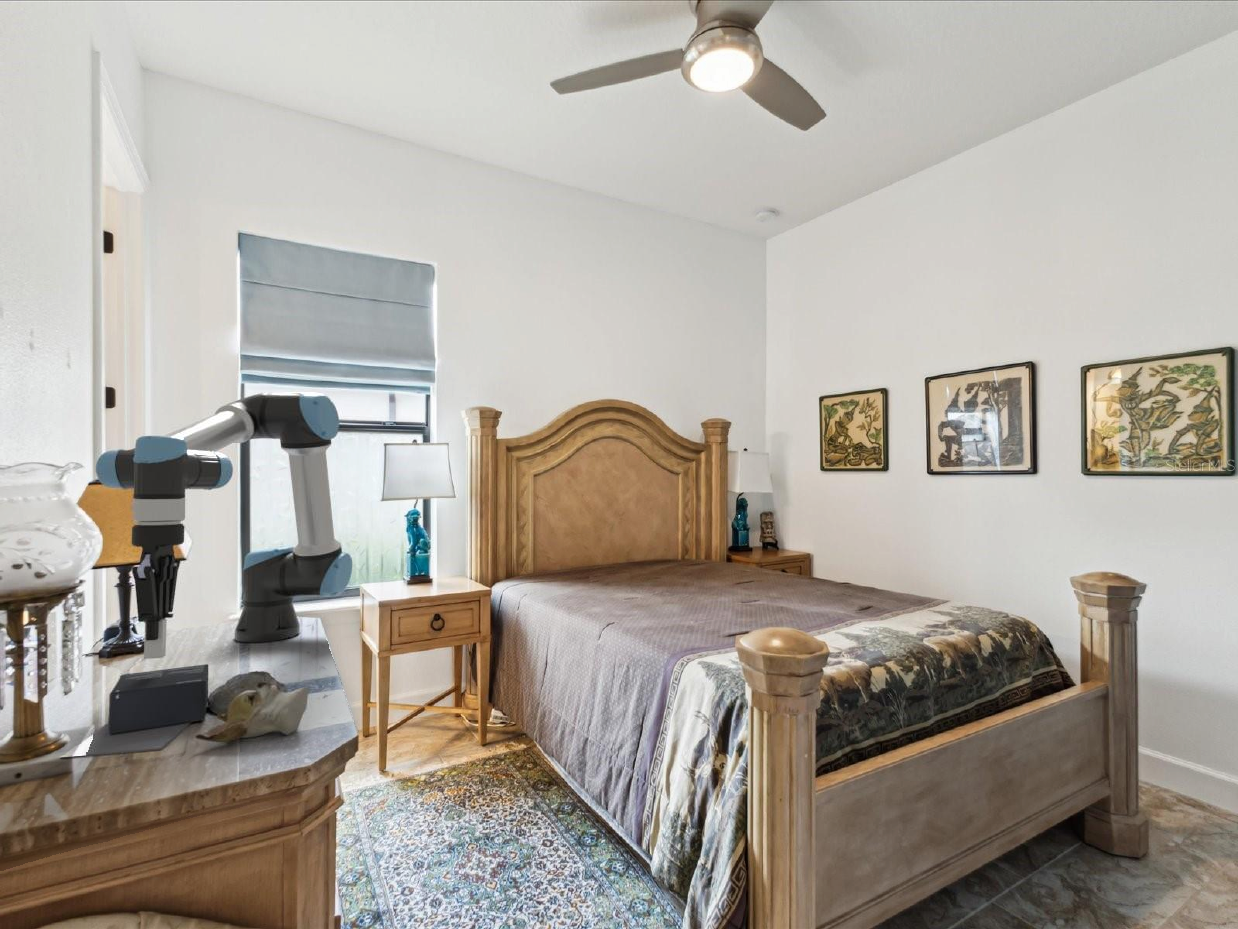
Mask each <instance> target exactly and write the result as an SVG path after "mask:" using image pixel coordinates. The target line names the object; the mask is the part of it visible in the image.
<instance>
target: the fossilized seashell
mask: <svg viewBox="0 0 1238 929" xmlns="http://www.w3.org/2000/svg"><path fill="white" fill-rule="evenodd" d="M260 682H264V683H270V684H272V685H275V686H276V687H277V689H278V690H279V691H280V692H285V693H287V686H286V685H285V683H282V682H279V681H278V680H277V679H276V678H275V677H273V676H272V675H271V673H270V672H267V671H264V670H263V671H262V670H259V671H257V670H256V671H249V672H247V673H242V674H240V673H238V674H237V675H234V676H232V677H231V678H229V679H228V680H227V681H226V682H225V683H224V684H221V685H219V686H218V687H217V688H215V689H214V690H213V691H212V692H210V693H209V694H208V700H207V707H208V708H209V710H210V711H211V713H212V714H214V715H219V714H227V712H228V707H229V705H230V703H231V702H232V701H233V699H234V698H236V697H237V696H238V695H239V694H241V693H243V692H245V691H248V690H255V689H256V688H257V686H258V684H259V683H260Z"/></svg>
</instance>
